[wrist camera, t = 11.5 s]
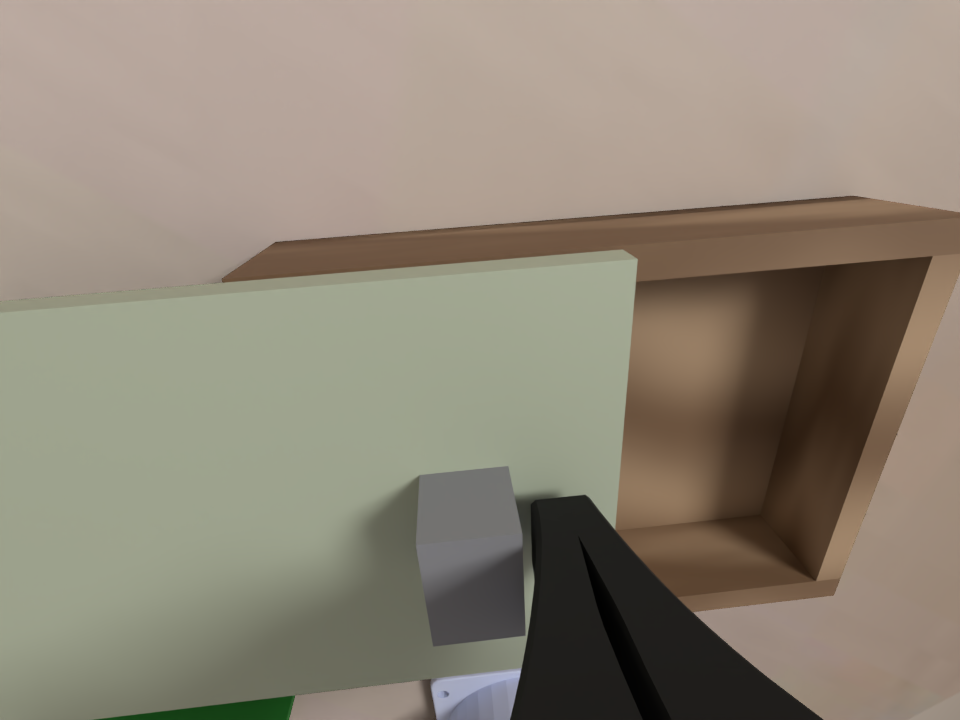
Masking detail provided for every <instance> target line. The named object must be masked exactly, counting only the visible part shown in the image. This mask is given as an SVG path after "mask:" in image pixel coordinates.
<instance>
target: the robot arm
mask: <svg viewBox="0 0 960 720" xmlns="http://www.w3.org/2000/svg"><path fill="white" fill-rule="evenodd" d="M531 545H532V565H533V572H534V580H535V581H534V591H533V599H532V607H531V615H530V623H529V629H528V636H527V642H526V647H525V653H524V658H523V663H522V668H518V669H509V670H501V671H493V672H485V673H476V674H468V675H460V676H451V677H443V678H435V679H431V692H432V698H433V703H434V708H435V714H436V719H437V720H823V719H822V718H821V717H819V716H818V715H817V714H815V713H814V712H813V711H811V710H810V709H809V708H807V707H806V706H805V705H803V704H802V703H801V702H799V701H798V700H797V699H795V698H794V697H793V696H792V695H790V694H789V693H788V692H786V691H785V690H784V689H782V688H781V687H780V686H778V685H777V684H776V683H774V682H773V681H772V680H770V679H769V678H768V677H767V676H765V675H764V674H763V673H762V672H760V671H759V670H758V669H757V668H756V667H754V666H753V665H752V664H751V663H750V662H748V661H747V660H746V659H745V658H743V657H742V656H741V655H740V654H739V653H737V652H736V651H735V650H734V649H733V648H732V647H730V646H729V645H728V644H727V643H726V642H725V641H724V640H722V639H721V638H720V637H719V636H718V635H717V634H716V633H714V632H713V631H712V630H711V629H710V628H709V627H708V626H707V625H706V624H705V623H703V622H702V621H701V620H700V619H699V618H698V617H697V616H696V615H695V614H694V613H693V612H692V611H691V610H690V609H689V608H687V607H686V606H685V605H684V604H683V603H682V602H681V601H680V600H679V599H678V598H677V597H676V596H675V595H674V594H673V593H672V592H671V591H670V590H669V589H668V588H667V587H666V586H665V585H664V584H663V583H662V582H661V580H660V579H659V578H658V577H657V576H656V575H655V574H654V573H653V572H652V571H651V570H650V569H649V568H648V567H647V565H646V564H645V563H644V562H643V561H642V560H641V559H640V558H639V557H638V556H637V555H636V554H635V552H634V551H633V550H632V549H631V548H630V547H629V546H628V544H627V543H626V542H625V541H624V540H623V539H622V537H621V536H620V535H619V534H618V533H617V532H616V530H615V529H614V528H613V527H612V526H611V524H610V523H609V522H608V521H607V519H606V518H605V517H604V516H603V514H602V513H601V512H600V511H599V509H598V508H597V507H596V505H595V504H594V503H593V501H592V500H591V499H590V498H589V497H588V496H587V495H577V496H568V497H558V498H549V499H539V500H535V501H534V502H533V503H532V504H531Z"/></svg>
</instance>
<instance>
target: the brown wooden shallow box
mask: <svg viewBox="0 0 960 720" xmlns="http://www.w3.org/2000/svg"><path fill="white" fill-rule="evenodd" d="M622 249H623V250H624V251H626V252H628V253H629V254H631V255H632V256H634V257H635V258H637V259H638V262H637V274H636V286H635V298H634V310H633V322H632V334H631V346H630V358H629V370H628V382H627V394H626V406H625V418H624V430H623V441H622V453H621V465H620V477H619V489H618V501H617V513H616V525H615V530H616V532H617V533H618V534H619V535H620V536H621V537H622V539H623V540H624V541H625V542H626V543H627V544H628V546H629V547H630V548H631V549H632V550H633V551H634V552H635V554H636V555H637V556H638V557H639V558H640V559H641V560H642V561H643V562H644V563H645V564H646V565H647V567H648V568H649V569H650V570H651V571H652V572H653V573H654V574H655V575H656V576H657V577H658V578H659V579H660V580H661V582H662V583H663V584H664V585H665V586H666V587H667V588H668V589H669V590H670V591H671V592H672V593H673V594H674V595H675V596H676V597H677V598H678V599H679V600H680V601H681V602H682V603H683V604H684V605H685V606H686V607H687V608H689V609H690V610H691V611H692V612H696V611H705V610H714V609H722V608H731V607H739V606H748V605H756V604H765V603H773V602H782V601H790V600H799V599H807V598H816V597H824V596H833V595H834V593H835V591H836V588H837V586H838V583H839V581H840V578H841V575H842V573H843V570H844V568H845V565H846V563H847V560H848V558H849V555H850V552H851V550H852V547H853V545H854V542H855V540H856V537H857V535H858V532H859V529H860V527H861V524H862V522H863V519H864V517H865V514H866V511H867V509H868V506H869V504H870V501H871V499H872V496H873V494H874V491H875V488H876V486H877V483H878V481H879V478H880V476H881V473H882V471H883V468H884V465H885V463H886V460H887V458H888V455H889V453H890V450H891V447H892V445H893V442H894V440H895V437H896V435H897V432H898V430H899V427H900V424H901V422H902V419H903V417H904V414H905V412H906V409H907V407H908V404H909V401H910V399H911V396H912V394H913V391H914V389H915V386H916V383H917V381H918V378H919V376H920V373H921V371H922V368H923V366H924V363H925V360H926V358H927V355H928V353H929V350H930V348H931V345H932V343H933V340H934V337H935V335H936V332H937V330H938V327H939V325H940V322H941V319H942V317H943V314H944V312H945V309H946V307H947V304H948V302H949V299H950V296H951V294H952V291H953V289H954V286H955V284H956V281H957V279H958V276H959V273H960V212H953V211H947V210H941V209H934V208H928V207H921V206H915V205H909V204H902V203H896V202H890V201H883V200H877V199H870V198H864V197H858V196H845V197H833V198H820V199H808V200H795V201H783V202H770V203H758V204H745V205H733V206H720V207H708V208H695V209H683V210H670V211H658V212H645V213H633V214H620V215H608V216H595V217H583V218H570V219H558V220H545V221H533V222H520V223H508V224H495V225H483V226H470V227H458V228H445V229H433V230H420V231H408V232H395V233H383V234H371V235H358V236H346V237H333V238H321V239H308V240H296V241H283V242H275V243H274V244H272V245H271V246H269V247H268V248H266V249H265V250H263V251H262V252H260V253H259V254H258V255H256V256H255V257H253V258H252V259H250V260H249V261H247V262H246V263H244V264H243V265H241V266H240V267H238V268H237V269H236V270H234V271H233V272H231V273H230V274H228V275H227V276H225V277H224V278H222V282H223V283H226V282H238V281H250V280H262V279H274V278H286V277H298V276H310V275H322V274H334V273H346V272H358V271H370V270H382V269H394V268H406V267H418V266H430V265H442V264H454V263H466V262H478V261H490V260H502V259H514V258H526V257H538V256H550V255H562V254H574V253H586V252H598V251H610V250H622Z"/></svg>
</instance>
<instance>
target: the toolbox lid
mask: <svg viewBox="0 0 960 720" xmlns="http://www.w3.org/2000/svg"><path fill="white" fill-rule="evenodd" d="M637 262H638V259H637V258H635V257H634V256H632V255H631V254H629V253H628V252H626V251H624V250H623V249H622V250H610V251H598V252H586V253H574V254H562V255H550V256H538V257H526V258H514V259H502V260H490V261H478V262H466V263H454V264H442V265H430V266H418V267H406V268H394V269H382V270H370V271H358V272H346V273H334V274H322V275H310V276H298V277H286V278H274V279H262V280H250V281H238V282H226V283H214V284H202V285H189V286H177V287H165V288H153V289H141V290H129V291H117V292H105V293H93V294H81V295H69V296H57V297H45V298H33V299H21V300H9V301H0V720H94V719H103V718H111V717H119V716H127V715H136V714H144V713H152V712H161V711H169V710H177V709H186V708H194V707H202V706H211V705H219V704H227V703H235V702H244V701H252V700H260V699H269V698H277V697H285V696H294V695H302V694H310V693H318V692H327V691H335V690H343V689H352V688H360V687H368V686H377V685H385V684H393V683H402V682H410V681H418V680H426V679H435V678H443V677H451V676H460V675H468V674H476V673H485V672H493V671H501V670H509V669H518V668H522V663H523V658H524V653H525V647H526V642H527V636H528V629H529V623H530V615H531V607H532V599H533V591H534V581H535V580H534V572H533V565H532V545H531V504H532V503H533V502H534V501H535V500H539V499H549V498H558V497H568V496H577V495H587V496H588V497H589V498H590V499H591V500H592V501H593V503H594V504H595V505H596V507H597V508H598V509H599V511H600V512H601V513H602V514H603V516H604V517H605V518H606V519H607V521H608V522H609V523H610V524H611V526H612V527H613V528H614V529H615V525H616V513H617V501H618V489H619V477H620V465H621V453H622V441H623V430H624V418H625V406H626V394H627V382H628V370H629V358H630V346H631V334H632V322H633V310H634V298H635V286H636V274H637Z"/></svg>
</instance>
